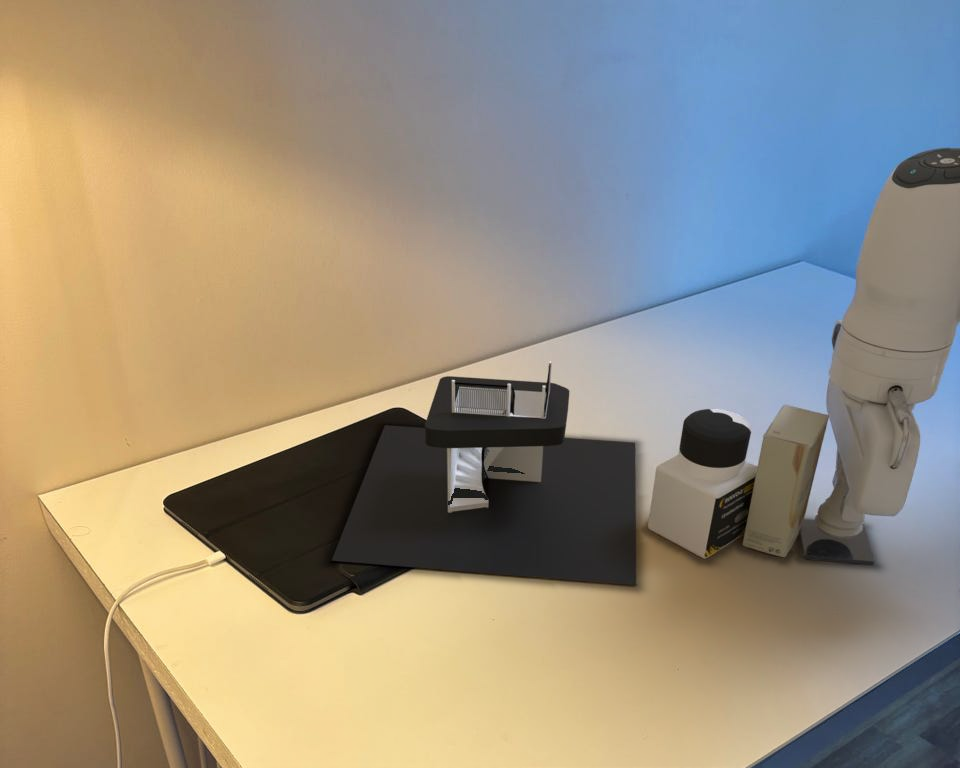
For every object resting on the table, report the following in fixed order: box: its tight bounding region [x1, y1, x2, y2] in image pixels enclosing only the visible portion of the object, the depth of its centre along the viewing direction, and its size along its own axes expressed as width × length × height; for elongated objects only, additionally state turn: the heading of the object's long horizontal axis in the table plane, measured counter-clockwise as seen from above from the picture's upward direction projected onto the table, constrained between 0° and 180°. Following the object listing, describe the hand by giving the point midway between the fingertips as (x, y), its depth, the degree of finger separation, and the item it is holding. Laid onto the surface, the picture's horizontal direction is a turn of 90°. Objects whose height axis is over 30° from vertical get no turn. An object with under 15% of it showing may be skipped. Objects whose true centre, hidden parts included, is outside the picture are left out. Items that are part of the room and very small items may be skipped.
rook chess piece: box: [814, 457, 866, 539], centre depth 91 cm, size 4×4×8 cm
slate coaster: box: [798, 518, 876, 566], centre depth 94 cm, size 6×6×1 cm
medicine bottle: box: [647, 408, 758, 560], centre depth 92 cm, size 7×7×12 cm
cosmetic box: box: [742, 404, 829, 558], centre depth 91 cm, size 6×4×12 cm
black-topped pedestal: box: [331, 361, 637, 586], centre depth 96 cm, size 28×26×13 cm
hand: (845, 503), depth 92 cm, fingers closed on rook chess piece, 3 cm apart
